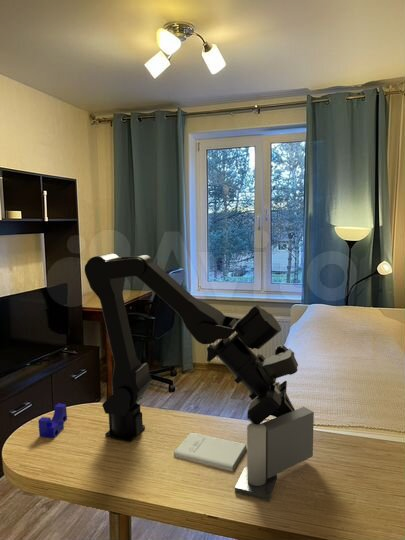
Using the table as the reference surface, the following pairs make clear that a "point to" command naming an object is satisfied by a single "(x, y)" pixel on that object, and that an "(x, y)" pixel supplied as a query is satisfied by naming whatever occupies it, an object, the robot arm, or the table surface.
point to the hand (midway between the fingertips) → (298, 423)
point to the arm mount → (255, 487)
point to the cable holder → (53, 422)
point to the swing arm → (278, 444)
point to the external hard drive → (211, 451)
